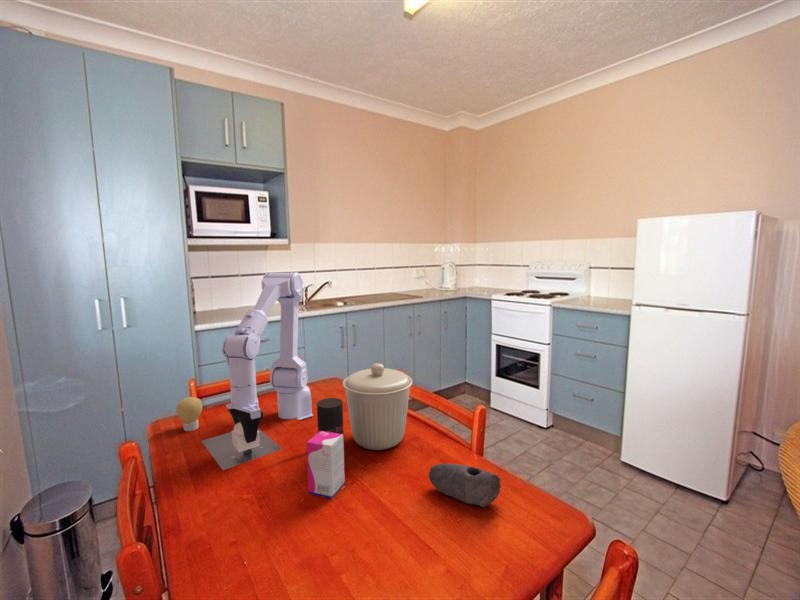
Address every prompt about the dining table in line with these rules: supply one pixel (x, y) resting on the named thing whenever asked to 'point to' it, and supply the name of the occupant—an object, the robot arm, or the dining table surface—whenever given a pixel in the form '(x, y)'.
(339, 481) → the supplement box
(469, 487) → the perforated stone tool
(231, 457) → the panel
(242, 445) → the knob
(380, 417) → the canister
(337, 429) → the deodorant
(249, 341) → the robot arm
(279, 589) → the dining table surface
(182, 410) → the light bulb
